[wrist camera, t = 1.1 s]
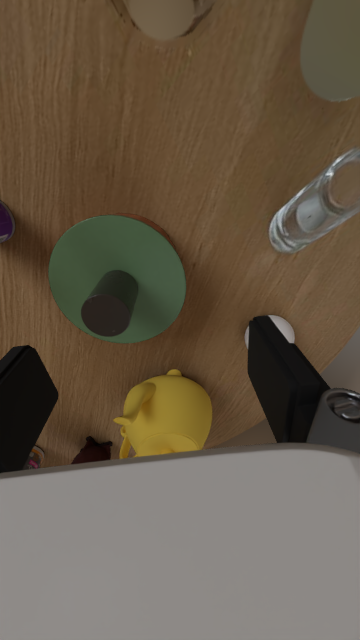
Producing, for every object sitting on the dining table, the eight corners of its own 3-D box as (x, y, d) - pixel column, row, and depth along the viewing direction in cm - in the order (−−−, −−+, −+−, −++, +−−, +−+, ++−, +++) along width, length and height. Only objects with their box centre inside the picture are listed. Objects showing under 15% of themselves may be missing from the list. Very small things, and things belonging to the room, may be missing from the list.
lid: (26, 235, 21) (-28, 255, 15) (165, 195, 20) (164, 200, 14) (88, 348, 27) (66, 393, 21) (197, 322, 26) (205, 362, 20)
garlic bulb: (260, 356, 36) (283, 398, 29) (233, 333, 33) (250, 372, 26) (296, 329, 34) (329, 367, 27) (269, 302, 31) (298, 336, 24)
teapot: (85, 375, 36) (54, 448, 26) (169, 330, 33) (170, 395, 23) (158, 442, 45) (155, 516, 35) (230, 413, 42) (249, 485, 32)
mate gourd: (122, 452, 46) (103, 558, 33) (85, 461, 47) (53, 568, 34) (103, 429, 42) (74, 538, 29) (64, 439, 43) (19, 549, 30)
